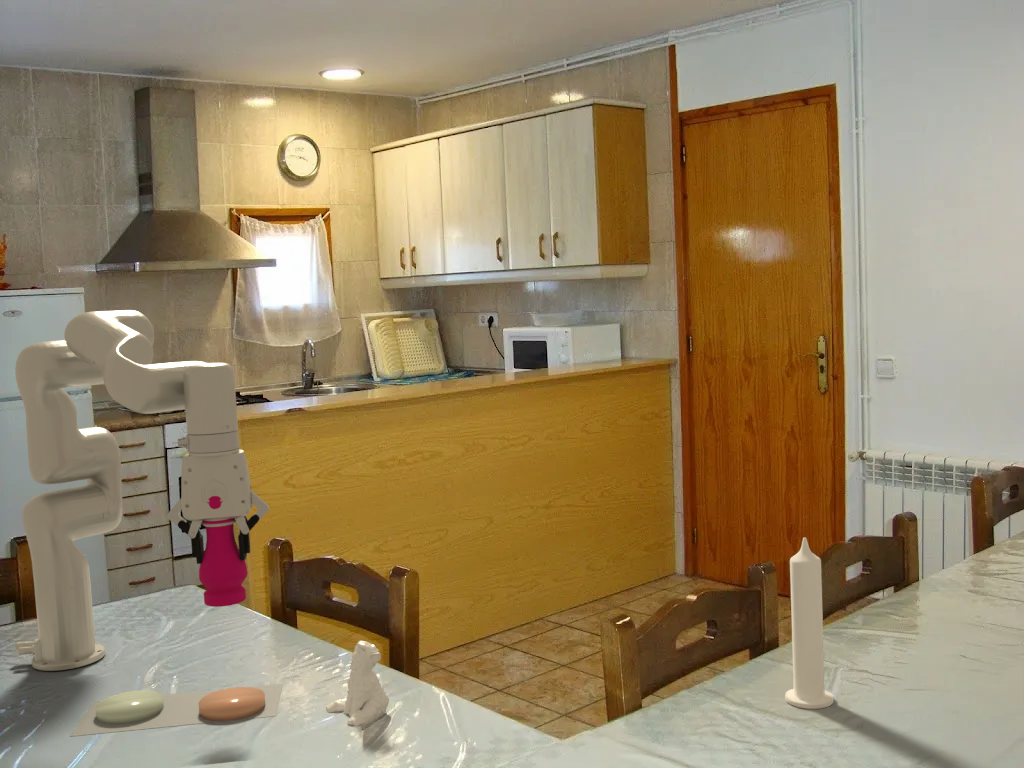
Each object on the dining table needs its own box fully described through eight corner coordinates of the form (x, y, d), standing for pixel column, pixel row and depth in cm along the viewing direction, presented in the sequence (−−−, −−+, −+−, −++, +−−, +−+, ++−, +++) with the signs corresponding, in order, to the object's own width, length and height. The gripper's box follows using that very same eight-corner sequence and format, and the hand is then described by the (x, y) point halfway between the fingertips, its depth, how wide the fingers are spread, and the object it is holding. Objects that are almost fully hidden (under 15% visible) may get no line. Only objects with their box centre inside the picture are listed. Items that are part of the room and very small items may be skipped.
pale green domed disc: (88, 727, 160) (88, 717, 160) (104, 702, 170) (104, 693, 170) (157, 720, 161) (156, 710, 161) (169, 696, 171) (168, 687, 171)
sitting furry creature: (322, 717, 163) (317, 641, 162) (371, 702, 168) (366, 628, 167) (352, 735, 155) (347, 655, 154) (402, 719, 161) (398, 641, 160)
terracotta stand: (194, 724, 159) (193, 714, 159) (204, 699, 169) (203, 690, 169) (262, 717, 161) (261, 707, 160) (268, 693, 170) (267, 684, 170)
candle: (834, 693, 162) (830, 532, 160) (832, 711, 155) (828, 543, 153) (787, 690, 164) (782, 531, 162) (783, 707, 158) (778, 542, 156)
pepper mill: (236, 608, 159) (226, 476, 158) (192, 607, 161) (181, 477, 159) (257, 594, 166) (247, 468, 165) (215, 594, 168) (205, 469, 166)
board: (70, 744, 157) (69, 736, 157) (94, 708, 171) (93, 701, 171) (276, 723, 161) (275, 715, 161) (283, 690, 175) (282, 683, 175)
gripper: (150, 451, 157) (159, 570, 158) (268, 443, 159) (277, 561, 160) (160, 444, 164) (168, 558, 166) (273, 437, 166) (280, 550, 168)
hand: (222, 558), depth 163 cm, fingers closed on pepper mill, 5 cm apart
